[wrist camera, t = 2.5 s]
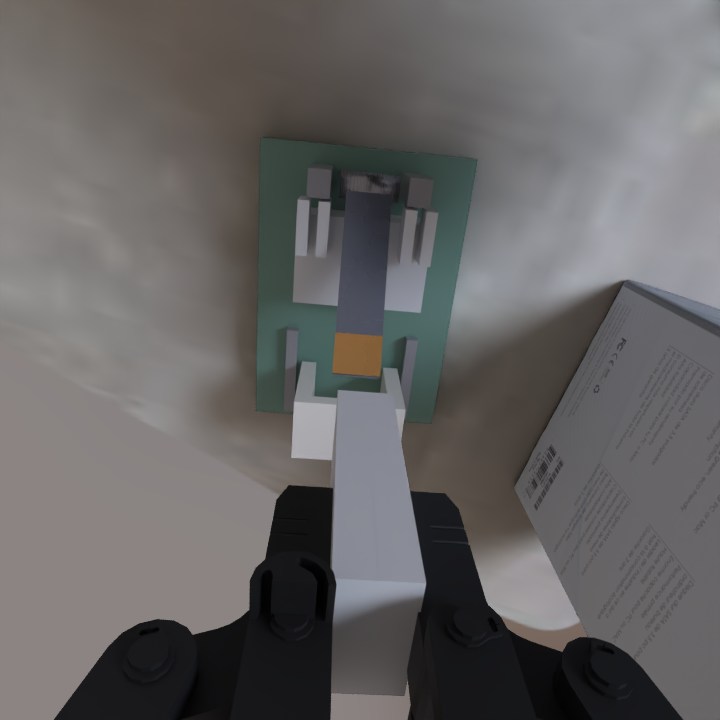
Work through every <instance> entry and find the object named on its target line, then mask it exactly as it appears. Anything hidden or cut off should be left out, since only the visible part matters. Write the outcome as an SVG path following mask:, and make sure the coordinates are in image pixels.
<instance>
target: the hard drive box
mask: <svg viewBox="0 0 720 720" xmlns="http://www.w3.org/2000/svg"><path fill="white" fill-rule="evenodd" d="M514 489H515V492H516V494H517V495H518V497H519V499H520V501H521V503H522V505H523V507H524V509H525V511H526V513H527V515H528V518H529V520H530V522H531V524H532V525H533V527H534V529H535V531H536V533H537V535H538V537H539V539H540V542H541V544H542V546H543V548H544V550H545V552H546V554H547V555H548V557H549V559H550V561H551V563H552V565H553V567H554V569H555V571H556V573H557V575H558V577H559V579H560V581H561V583H562V586H563V588H564V590H565V592H566V594H567V596H568V597H569V599H570V601H571V603H572V605H573V607H574V609H575V611H576V614H577V616H578V617H579V619H580V621H581V623H582V625H583V628H584V630H585V632H586V633H587V637H594V638H597V639H600V640H604V641H607V642H610V643H612V644H614V645H615V646H617V647H618V648H620V649H622V650H623V651H625V652H626V653H628V654H629V655H630V656H631V657H632V658H633V659H634V660H635V661H636V662H637V663H638V664H639V665H640V666H641V667H642V668H643V669H644V671H645V672H646V673H647V674H648V676H649V677H650V678H651V680H652V681H653V682H654V683H655V685H656V686H657V687H658V688H659V690H660V691H661V692H662V693H663V695H664V696H665V697H666V698H667V700H668V701H669V702H670V704H671V705H672V706H673V707H674V709H675V710H676V711H677V712H678V714H679V715H680V716H681V717H682V719H683V720H720V310H719V309H716V308H713V307H710V306H707V305H705V304H702V303H699V302H696V301H693V300H690V299H687V298H684V297H681V296H678V295H675V294H672V293H669V292H666V291H663V290H660V289H657V288H654V287H651V286H648V285H645V284H642V283H638V282H635V281H631V280H626V281H625V282H624V284H623V286H622V288H621V290H620V291H619V293H618V295H617V297H616V299H615V301H614V302H613V304H612V306H611V308H610V310H609V312H608V314H607V316H606V318H605V319H604V321H603V322H602V324H601V325H600V328H599V330H598V332H597V334H596V335H595V337H594V339H593V340H592V342H591V344H590V346H589V348H588V350H587V352H586V355H585V357H584V359H583V360H582V362H581V364H580V366H579V368H578V370H577V372H576V373H575V375H574V377H573V379H572V381H571V382H570V384H569V386H568V388H567V390H566V392H565V394H564V396H563V398H562V400H561V402H560V403H559V405H558V407H557V409H556V411H555V412H554V414H553V416H552V418H551V420H550V421H549V424H548V426H547V428H546V429H545V431H544V432H543V433H542V435H541V437H540V439H539V441H538V443H537V445H536V447H535V448H534V450H533V452H532V454H531V456H530V459H529V461H528V463H527V465H526V467H525V469H524V470H523V472H522V474H521V476H520V478H519V480H518V482H517V483H516V485H515V488H514Z"/></svg>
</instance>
